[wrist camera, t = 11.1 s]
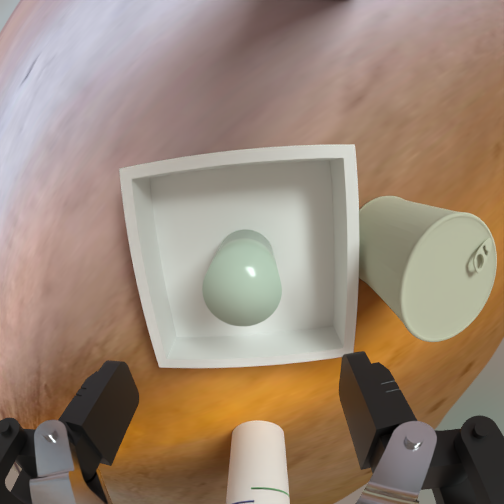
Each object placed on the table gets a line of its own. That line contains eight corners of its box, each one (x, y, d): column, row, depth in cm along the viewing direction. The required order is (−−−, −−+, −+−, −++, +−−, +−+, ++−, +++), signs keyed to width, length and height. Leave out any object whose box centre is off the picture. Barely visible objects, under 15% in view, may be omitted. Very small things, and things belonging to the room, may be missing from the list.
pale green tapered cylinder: (214, 232, 25) (196, 257, 17) (271, 226, 25) (278, 249, 17) (221, 285, 26) (209, 328, 18) (275, 280, 26) (284, 322, 18)
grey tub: (142, 169, 25) (119, 168, 20) (336, 150, 24) (354, 144, 19) (172, 340, 29) (159, 367, 24) (339, 328, 28) (352, 355, 24)
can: (436, 244, 26) (511, 282, 14) (377, 302, 28) (433, 368, 16) (393, 176, 24) (474, 182, 13) (326, 239, 26) (376, 286, 14)
